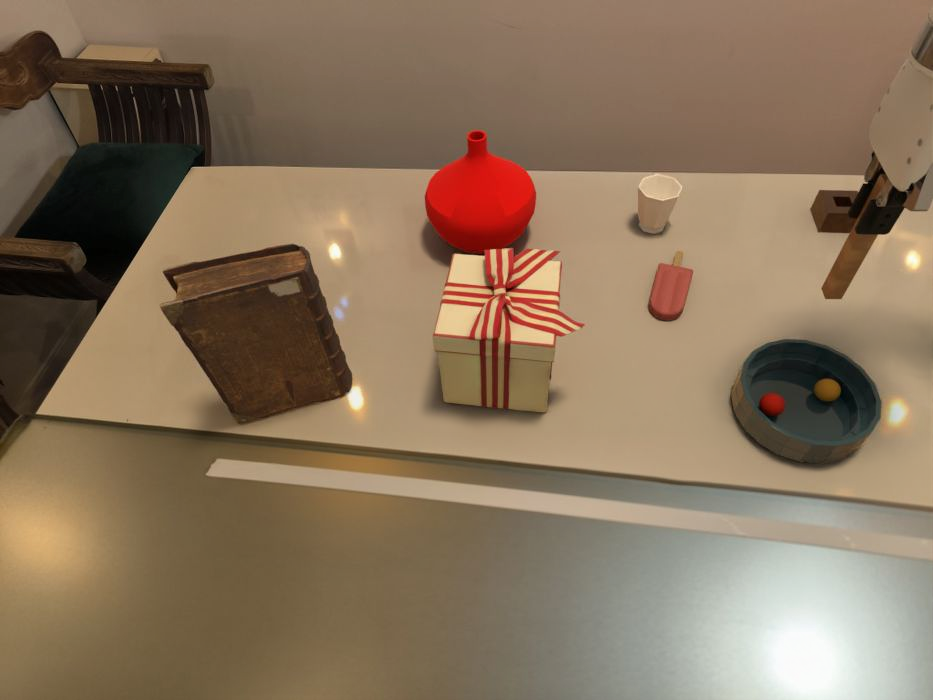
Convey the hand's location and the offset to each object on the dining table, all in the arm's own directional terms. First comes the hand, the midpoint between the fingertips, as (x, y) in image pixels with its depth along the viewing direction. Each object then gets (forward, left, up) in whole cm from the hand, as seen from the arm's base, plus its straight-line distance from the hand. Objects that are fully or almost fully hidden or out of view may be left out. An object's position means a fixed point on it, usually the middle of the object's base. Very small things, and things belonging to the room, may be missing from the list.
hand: (867, 223), depth 63 cm
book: (+67, +9, -27) cm, 73 cm away
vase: (+44, -27, -27) cm, 58 cm away
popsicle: (+13, -16, -27) cm, 34 cm away
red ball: (+3, +7, -25) cm, 26 cm away
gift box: (+37, +1, -27) cm, 46 cm away
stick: (0, 0, -11) cm, 11 cm away
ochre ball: (-5, +4, -25) cm, 25 cm away
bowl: (-1, +6, -27) cm, 27 cm away
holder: (-15, -33, -27) cm, 45 cm away
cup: (+15, -32, -27) cm, 45 cm away
